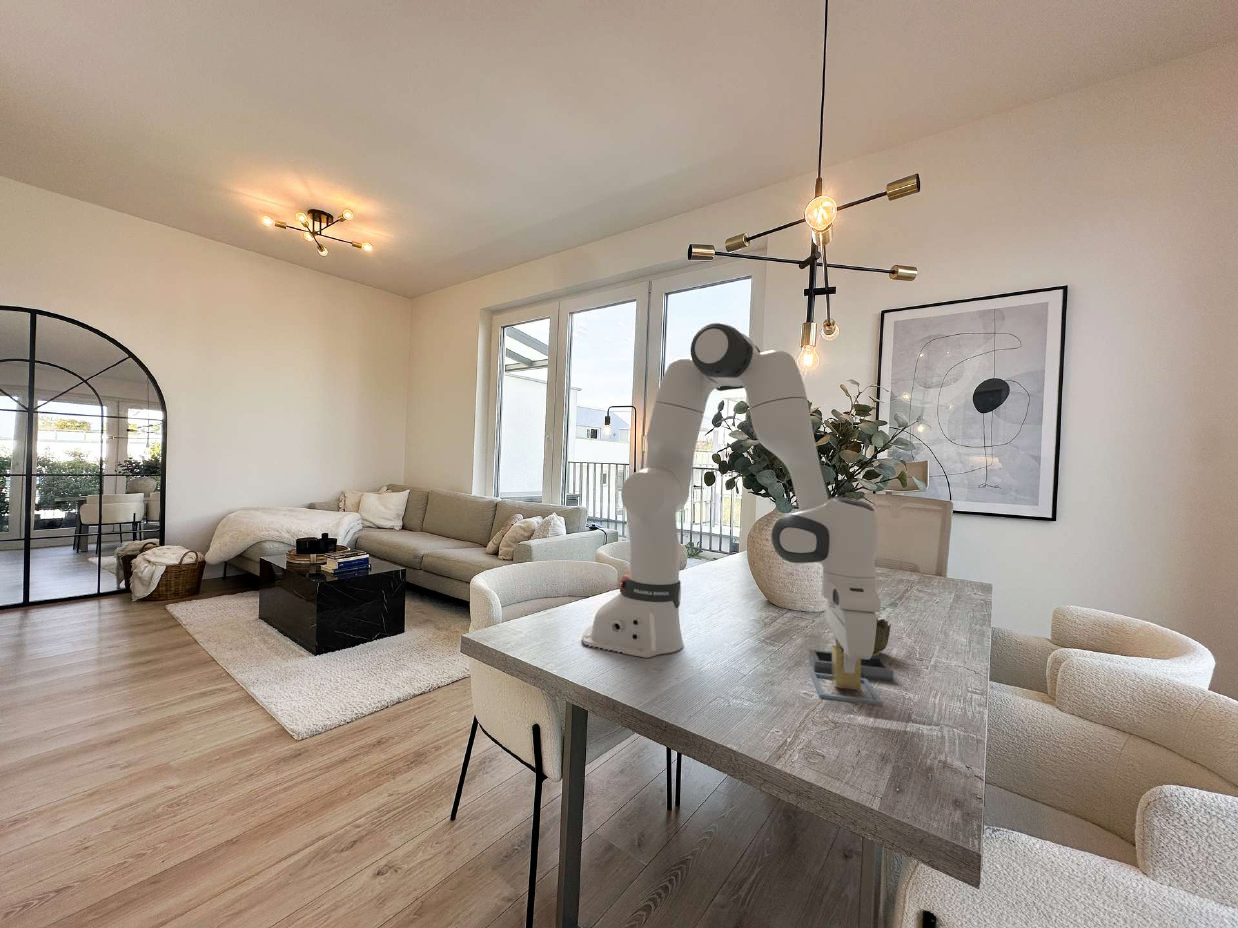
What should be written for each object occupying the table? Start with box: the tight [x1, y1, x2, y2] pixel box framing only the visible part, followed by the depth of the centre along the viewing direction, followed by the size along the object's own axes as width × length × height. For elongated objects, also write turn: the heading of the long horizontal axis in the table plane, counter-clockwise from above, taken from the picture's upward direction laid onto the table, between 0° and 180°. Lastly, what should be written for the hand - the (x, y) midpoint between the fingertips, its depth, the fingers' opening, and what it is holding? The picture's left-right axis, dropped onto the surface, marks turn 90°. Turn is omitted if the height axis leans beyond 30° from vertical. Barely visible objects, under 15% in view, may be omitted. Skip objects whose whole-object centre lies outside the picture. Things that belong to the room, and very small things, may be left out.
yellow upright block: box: [831, 645, 862, 690], centre depth 91 cm, size 4×4×6 cm
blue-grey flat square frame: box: [809, 671, 884, 707], centre depth 91 cm, size 10×10×2 cm
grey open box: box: [808, 648, 895, 682], centre depth 100 cm, size 14×7×3 cm, turn 78°
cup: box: [872, 616, 892, 657], centre depth 111 cm, size 8×7×8 cm
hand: (844, 665), depth 91 cm, fingers closed on yellow upright block, 4 cm apart
